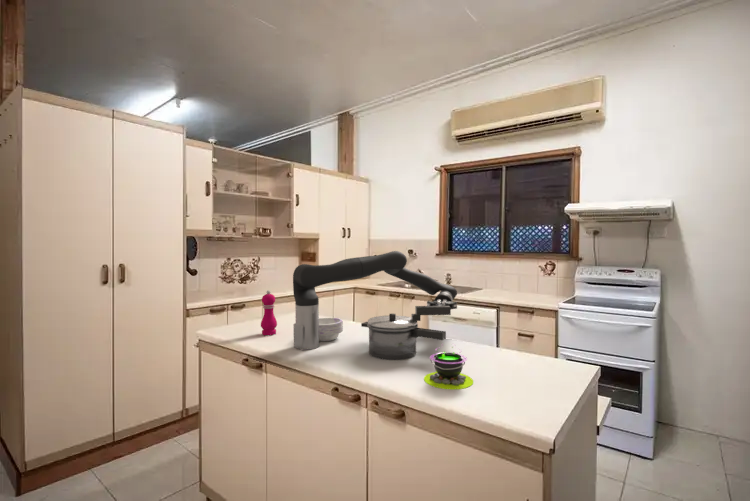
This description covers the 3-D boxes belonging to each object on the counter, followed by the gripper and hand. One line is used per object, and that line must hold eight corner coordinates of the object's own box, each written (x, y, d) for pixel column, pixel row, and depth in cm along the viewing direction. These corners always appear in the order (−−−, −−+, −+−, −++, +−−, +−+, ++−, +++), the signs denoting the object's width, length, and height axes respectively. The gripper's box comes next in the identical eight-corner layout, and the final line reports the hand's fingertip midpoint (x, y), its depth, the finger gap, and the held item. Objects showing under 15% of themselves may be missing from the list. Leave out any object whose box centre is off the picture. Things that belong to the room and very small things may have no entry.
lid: (368, 329, 139) (368, 312, 139) (367, 318, 157) (367, 303, 157) (455, 328, 140) (455, 310, 140) (444, 317, 159) (444, 302, 159)
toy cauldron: (416, 384, 117) (416, 348, 117) (433, 369, 130) (433, 336, 130) (466, 393, 110) (466, 355, 110) (478, 376, 123) (478, 342, 123)
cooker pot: (350, 353, 148) (350, 324, 147) (377, 342, 164) (376, 316, 164) (433, 369, 130) (433, 336, 129) (454, 354, 146) (454, 325, 145)
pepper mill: (274, 335, 175) (274, 291, 174) (258, 335, 175) (258, 291, 174) (279, 332, 182) (278, 289, 181) (263, 332, 182) (263, 289, 181)
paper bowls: (303, 336, 174) (303, 318, 173) (336, 332, 180) (336, 315, 180) (313, 345, 160) (313, 325, 160) (348, 340, 166) (347, 322, 166)
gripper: (428, 292, 172) (423, 298, 155) (459, 293, 168) (457, 299, 152) (428, 309, 172) (423, 317, 155) (459, 310, 169) (456, 318, 152)
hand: (439, 308), depth 153 cm, fingers closed
